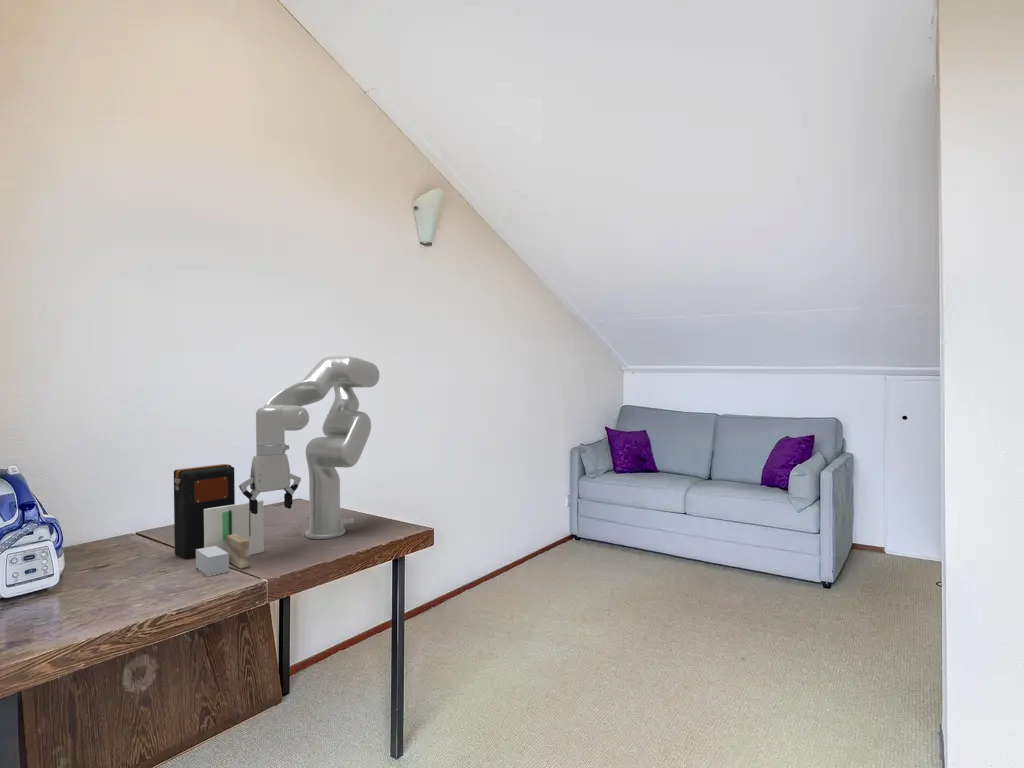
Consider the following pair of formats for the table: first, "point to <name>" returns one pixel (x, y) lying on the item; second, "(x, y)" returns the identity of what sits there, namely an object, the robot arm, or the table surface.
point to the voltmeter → (198, 502)
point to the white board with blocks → (217, 528)
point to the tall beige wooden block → (237, 547)
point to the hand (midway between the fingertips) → (271, 510)
